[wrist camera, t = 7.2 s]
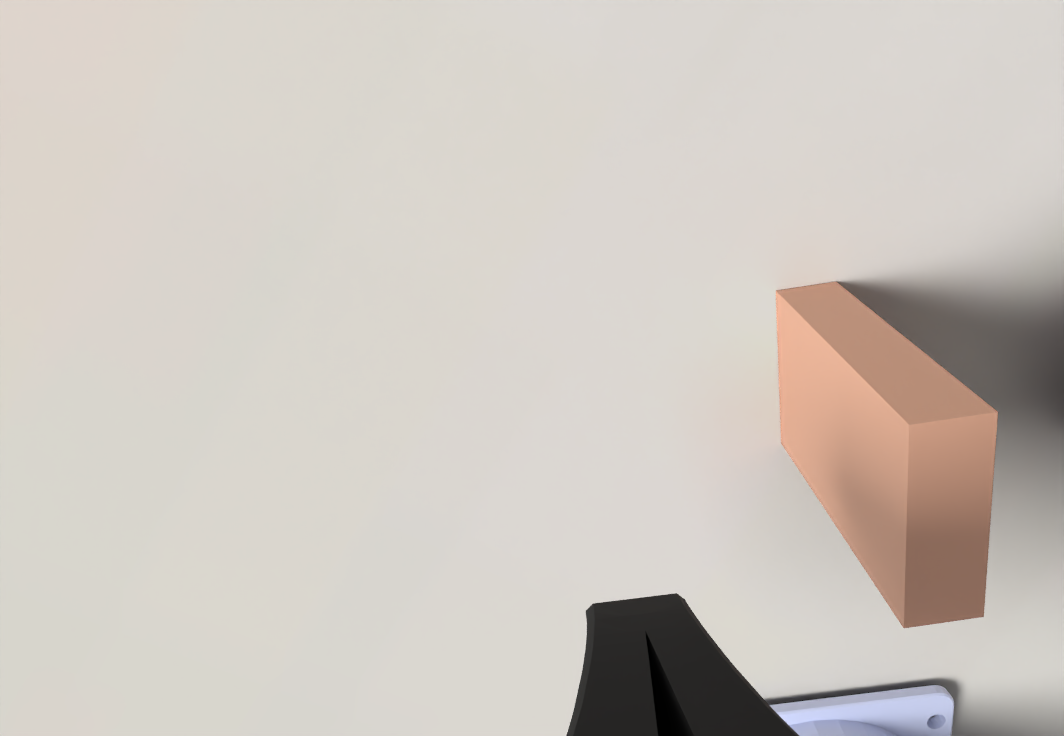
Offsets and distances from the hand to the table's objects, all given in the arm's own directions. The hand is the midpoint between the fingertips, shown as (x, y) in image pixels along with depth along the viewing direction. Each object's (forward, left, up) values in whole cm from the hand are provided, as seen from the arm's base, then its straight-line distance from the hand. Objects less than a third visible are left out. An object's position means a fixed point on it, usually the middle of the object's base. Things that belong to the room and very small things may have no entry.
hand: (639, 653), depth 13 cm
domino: (0, -6, -9) cm, 11 cm away
